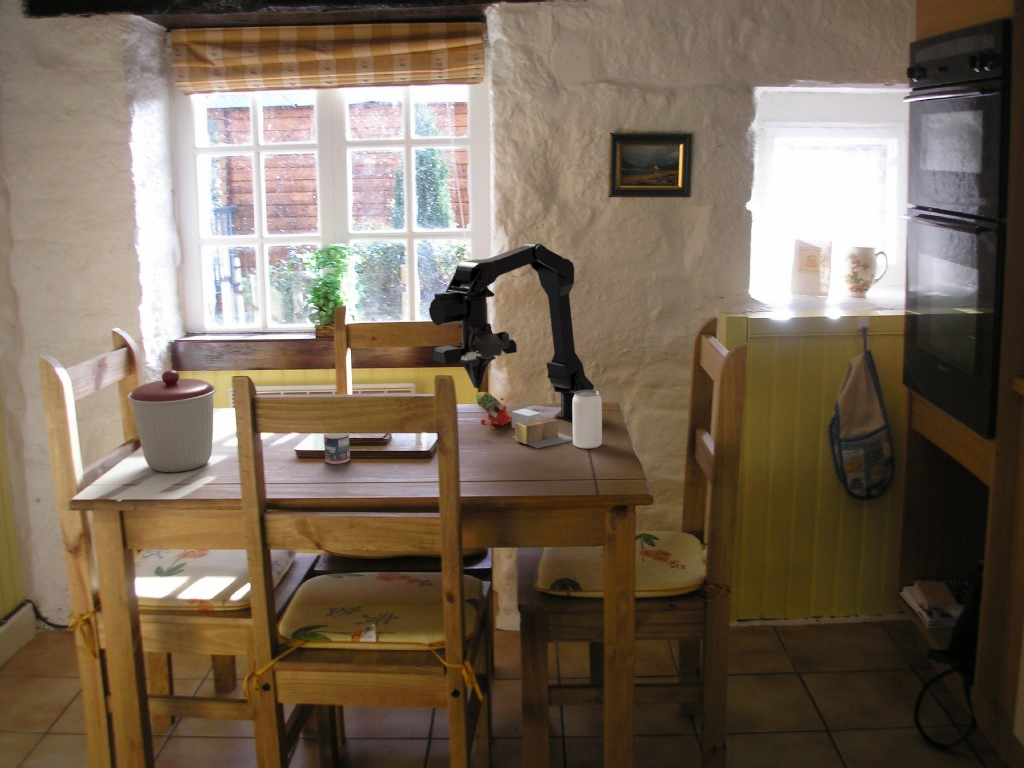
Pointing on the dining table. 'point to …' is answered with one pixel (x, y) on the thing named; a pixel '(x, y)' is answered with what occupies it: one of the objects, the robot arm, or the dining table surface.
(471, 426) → the dining table surface
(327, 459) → the white blue cylinder
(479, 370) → the robot arm
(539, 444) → the mat
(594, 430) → the can
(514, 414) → the blue-grey block
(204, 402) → the canister
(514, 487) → the dining table surface
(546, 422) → the walnut block
